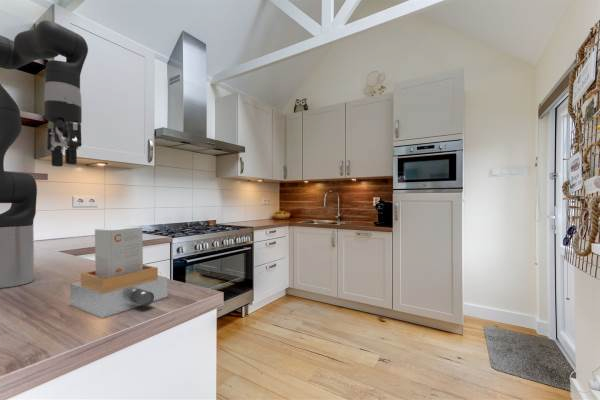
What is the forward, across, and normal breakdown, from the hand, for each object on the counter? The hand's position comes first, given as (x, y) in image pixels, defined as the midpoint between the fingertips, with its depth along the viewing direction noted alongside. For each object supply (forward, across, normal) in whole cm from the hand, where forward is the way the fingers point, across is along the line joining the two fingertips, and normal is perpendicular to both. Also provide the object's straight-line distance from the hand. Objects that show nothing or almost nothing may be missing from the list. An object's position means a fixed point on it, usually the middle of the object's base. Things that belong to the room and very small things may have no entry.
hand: (63, 165), depth 75 cm
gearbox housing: (+34, +20, +5) cm, 40 cm away
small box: (+29, +18, +5) cm, 35 cm away
